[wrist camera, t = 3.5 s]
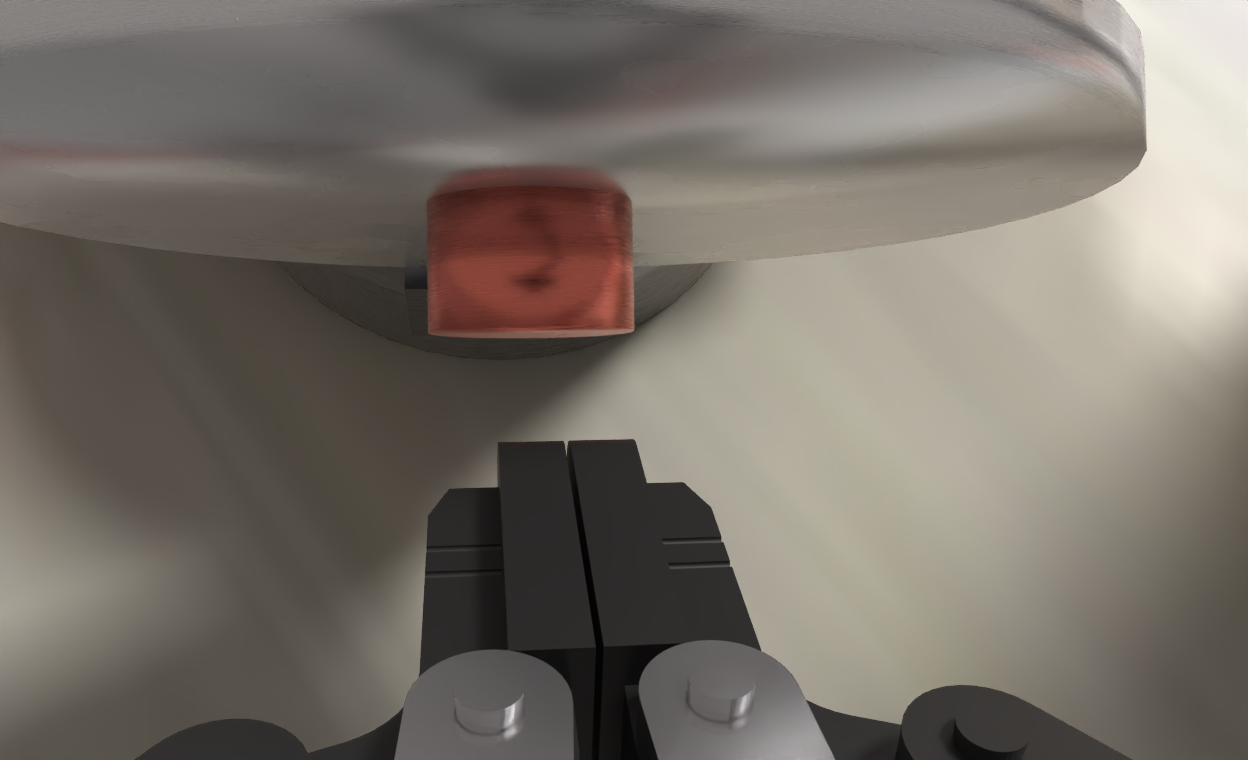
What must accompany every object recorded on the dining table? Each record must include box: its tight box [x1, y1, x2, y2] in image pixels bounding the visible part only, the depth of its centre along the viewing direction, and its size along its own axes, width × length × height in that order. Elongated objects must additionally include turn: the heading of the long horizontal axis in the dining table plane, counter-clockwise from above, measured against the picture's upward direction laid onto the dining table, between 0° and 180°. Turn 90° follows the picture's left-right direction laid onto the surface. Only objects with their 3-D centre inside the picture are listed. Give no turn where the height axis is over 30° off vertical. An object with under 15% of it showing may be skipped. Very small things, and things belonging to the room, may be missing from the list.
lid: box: [0, 0, 1147, 338], centre depth 18 cm, size 18×18×3 cm
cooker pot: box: [278, 261, 713, 360], centre depth 34 cm, size 20×24×10 cm
